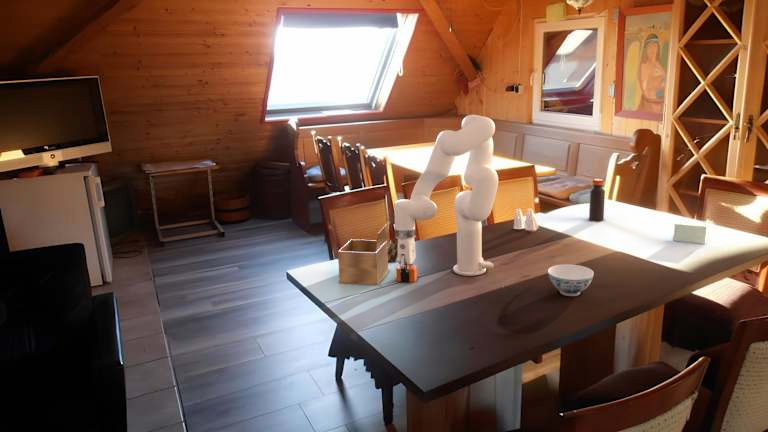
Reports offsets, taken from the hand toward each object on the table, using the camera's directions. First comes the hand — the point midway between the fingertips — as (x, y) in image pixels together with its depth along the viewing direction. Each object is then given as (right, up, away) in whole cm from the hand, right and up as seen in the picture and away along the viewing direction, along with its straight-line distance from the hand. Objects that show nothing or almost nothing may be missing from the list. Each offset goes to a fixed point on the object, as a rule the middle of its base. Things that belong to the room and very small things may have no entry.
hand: (406, 278), depth 226 cm
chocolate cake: (-5, +5, +24) cm, 26 cm away
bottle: (+96, +22, +69) cm, 120 cm away
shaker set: (+59, +17, +56) cm, 83 cm away
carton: (-16, 0, +5) cm, 17 cm away
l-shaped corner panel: (+125, +14, +33) cm, 130 cm away
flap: (-9, +16, -1) cm, 19 cm away
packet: (0, 0, 0) cm, 0 cm away
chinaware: (+56, -3, -19) cm, 59 cm away
